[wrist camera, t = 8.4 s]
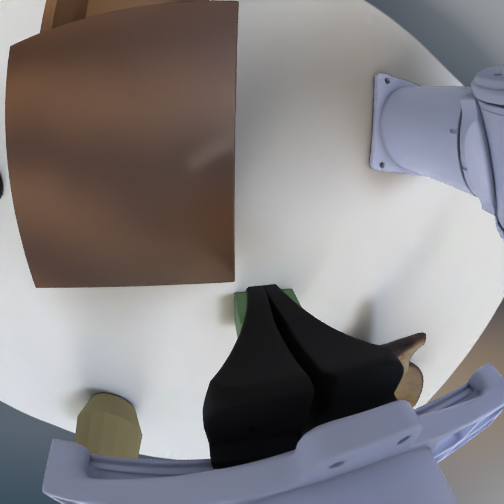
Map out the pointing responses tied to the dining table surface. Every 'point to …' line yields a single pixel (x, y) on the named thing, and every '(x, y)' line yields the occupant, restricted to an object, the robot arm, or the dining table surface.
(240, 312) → the block
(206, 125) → the cabinet
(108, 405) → the squeeze bottle
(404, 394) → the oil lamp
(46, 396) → the dining table surface
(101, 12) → the drawer
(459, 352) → the dining table surface
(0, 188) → the mobile phone
